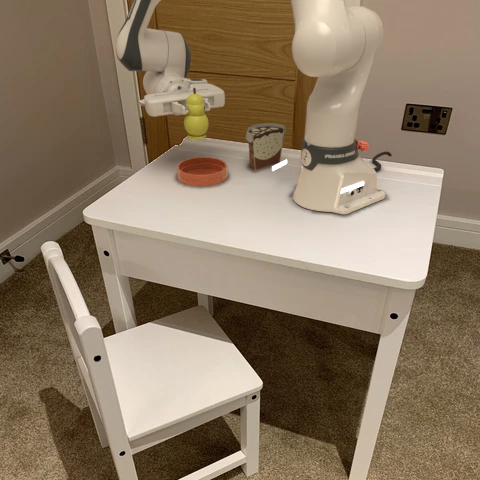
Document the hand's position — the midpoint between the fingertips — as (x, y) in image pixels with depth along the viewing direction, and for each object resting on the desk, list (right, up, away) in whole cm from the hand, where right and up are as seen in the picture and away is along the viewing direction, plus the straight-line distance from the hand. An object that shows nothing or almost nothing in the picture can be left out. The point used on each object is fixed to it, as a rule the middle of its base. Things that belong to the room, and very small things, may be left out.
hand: (197, 109), depth 117 cm
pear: (0, -5, +5) cm, 7 cm away
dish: (0, -12, +13) cm, 18 cm away
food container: (+16, -7, +20) cm, 26 cm away
